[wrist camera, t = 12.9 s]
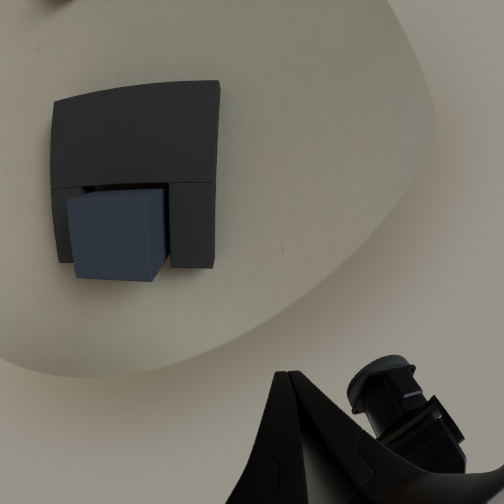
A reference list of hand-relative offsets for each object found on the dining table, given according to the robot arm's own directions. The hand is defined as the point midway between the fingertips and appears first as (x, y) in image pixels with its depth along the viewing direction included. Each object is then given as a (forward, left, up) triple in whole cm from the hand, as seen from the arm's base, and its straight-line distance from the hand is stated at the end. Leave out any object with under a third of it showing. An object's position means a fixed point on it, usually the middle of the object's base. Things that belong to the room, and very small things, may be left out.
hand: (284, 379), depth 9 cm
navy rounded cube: (+3, +9, -12) cm, 15 cm away
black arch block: (+6, +9, -12) cm, 16 cm away
